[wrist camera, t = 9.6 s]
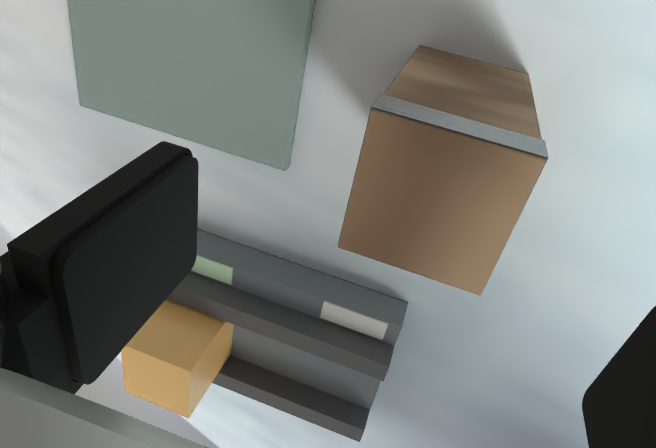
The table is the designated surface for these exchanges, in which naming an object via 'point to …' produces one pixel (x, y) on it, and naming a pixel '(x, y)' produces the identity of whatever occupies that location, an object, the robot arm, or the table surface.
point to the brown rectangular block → (445, 169)
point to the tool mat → (197, 68)
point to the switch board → (295, 333)
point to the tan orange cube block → (176, 357)
